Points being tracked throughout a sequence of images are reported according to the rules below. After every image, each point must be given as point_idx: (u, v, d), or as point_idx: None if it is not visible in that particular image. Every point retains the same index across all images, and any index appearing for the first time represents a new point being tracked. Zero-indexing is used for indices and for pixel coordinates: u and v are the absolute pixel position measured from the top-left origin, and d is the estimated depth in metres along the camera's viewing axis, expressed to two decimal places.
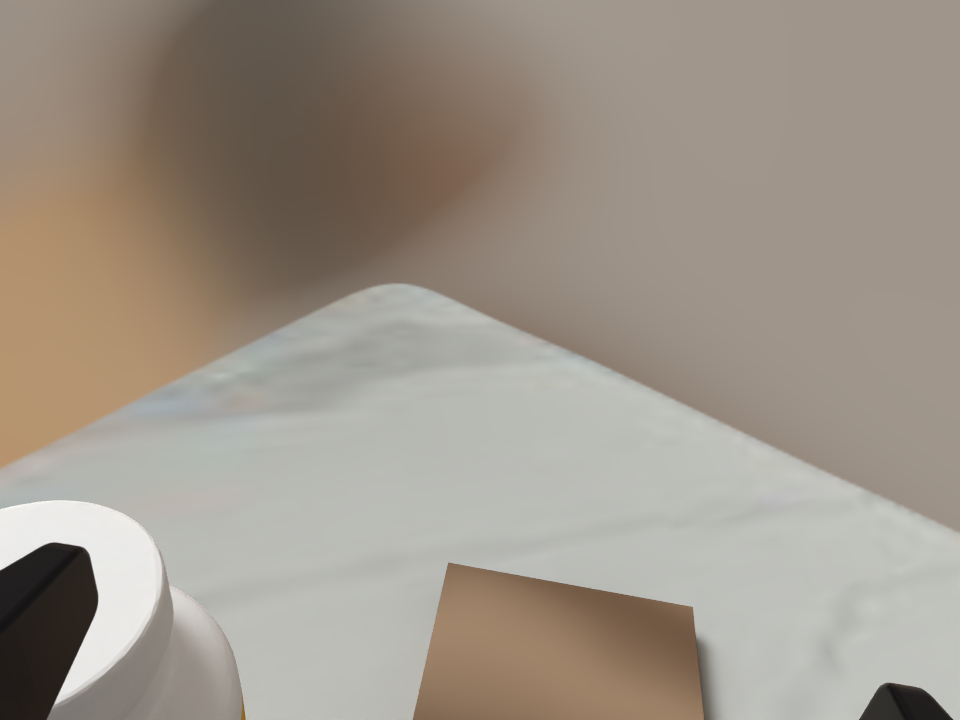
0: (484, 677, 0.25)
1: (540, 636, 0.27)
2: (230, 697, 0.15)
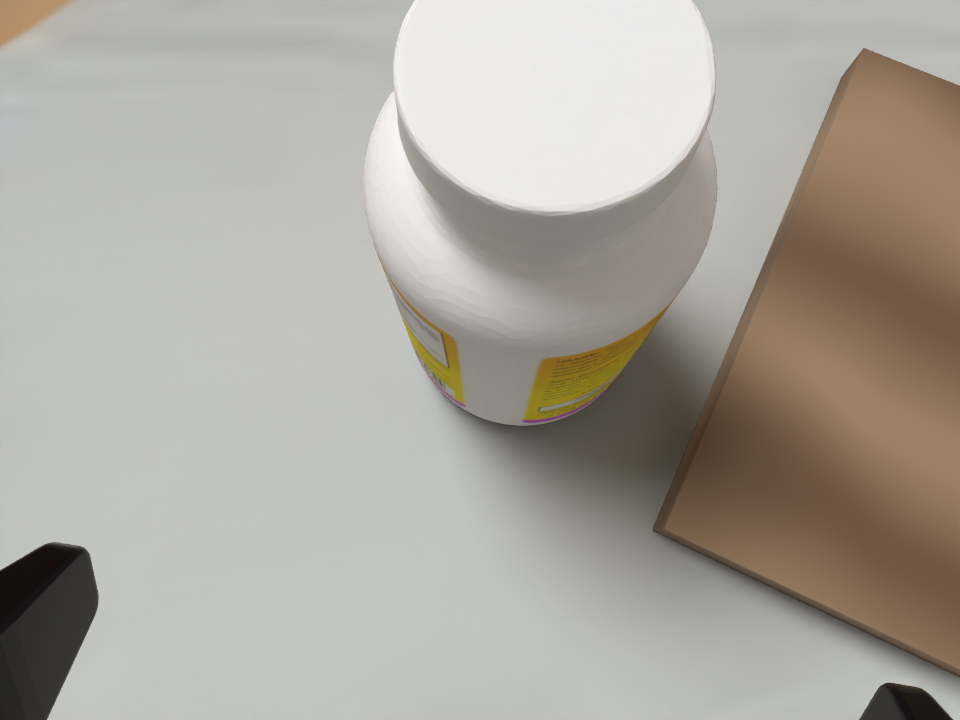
0: (878, 191, 0.23)
1: (953, 159, 0.23)
2: (715, 197, 0.14)
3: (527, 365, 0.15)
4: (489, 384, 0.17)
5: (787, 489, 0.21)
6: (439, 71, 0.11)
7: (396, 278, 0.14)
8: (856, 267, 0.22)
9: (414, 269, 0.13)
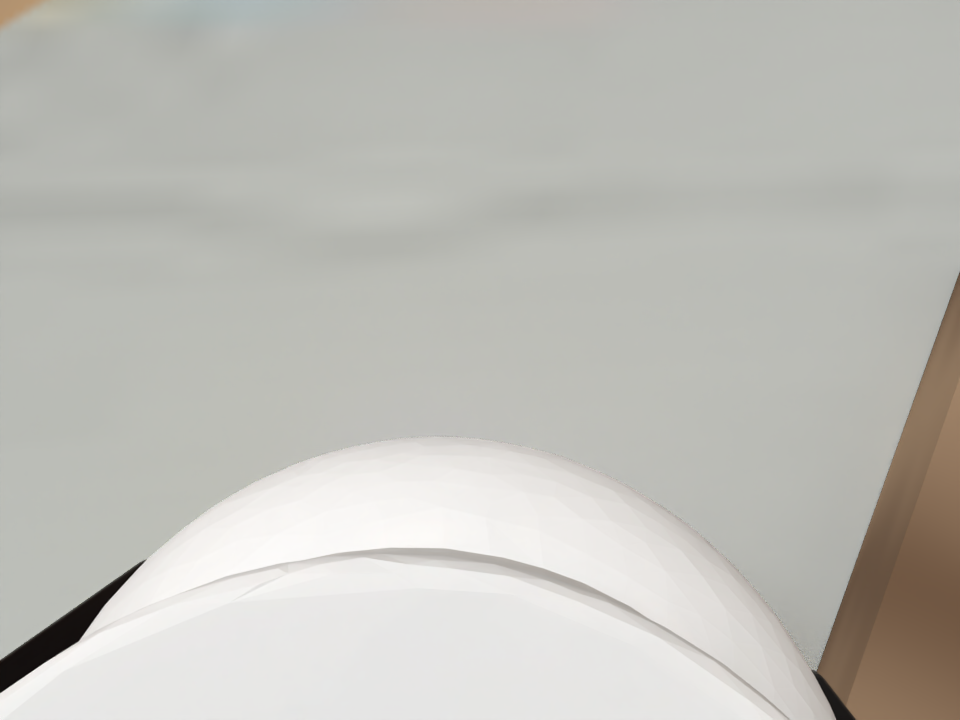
0: None
1: None
2: None
3: None
4: None
5: None
6: None
7: None
8: None
9: None
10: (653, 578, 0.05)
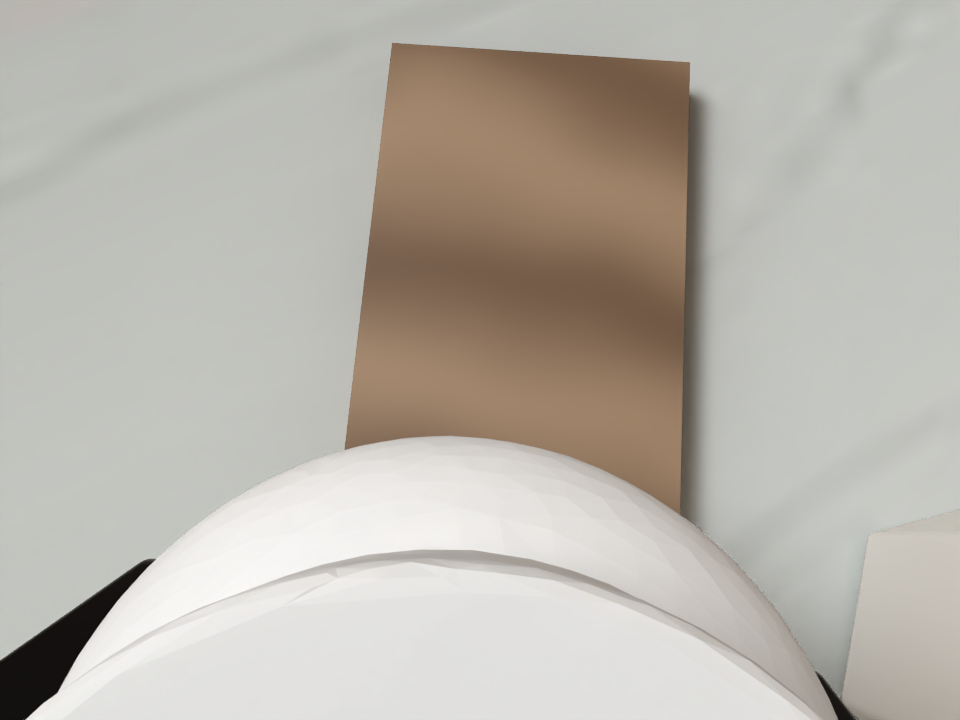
0: (443, 179, 0.23)
1: (505, 123, 0.23)
2: None
3: None
4: None
5: None
6: None
7: None
8: (442, 261, 0.22)
9: None
10: (664, 576, 0.06)
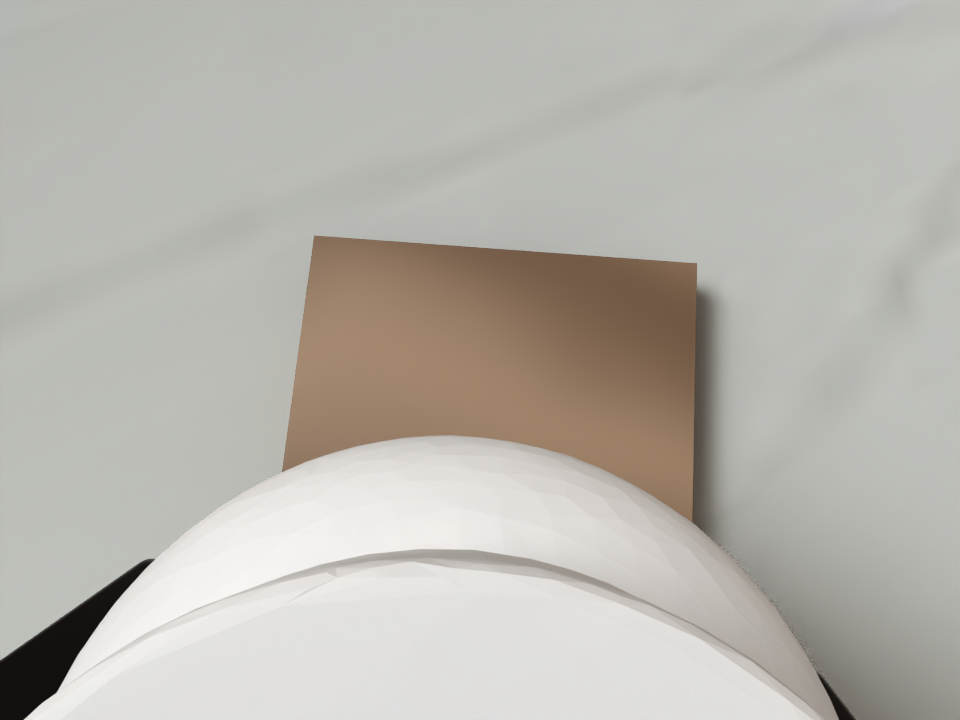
0: (376, 425, 0.17)
1: (458, 346, 0.18)
2: None
3: None
4: None
5: None
6: None
7: None
8: None
9: None
10: (663, 575, 0.06)
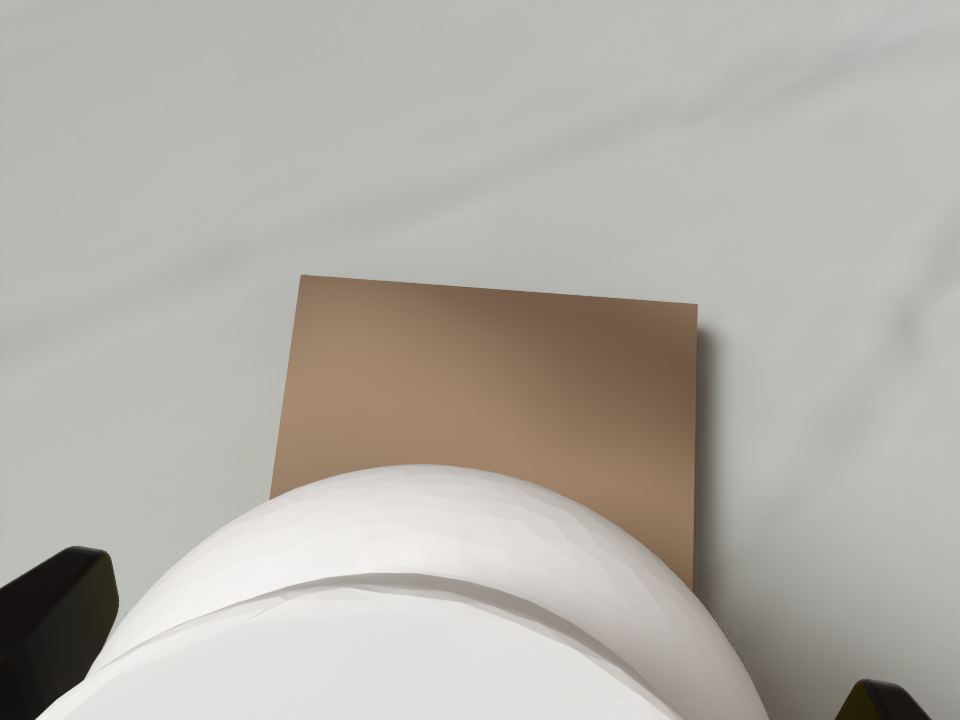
0: None
1: (449, 391, 0.17)
2: None
3: None
4: None
5: None
6: None
7: None
8: None
9: None
10: (604, 591, 0.06)
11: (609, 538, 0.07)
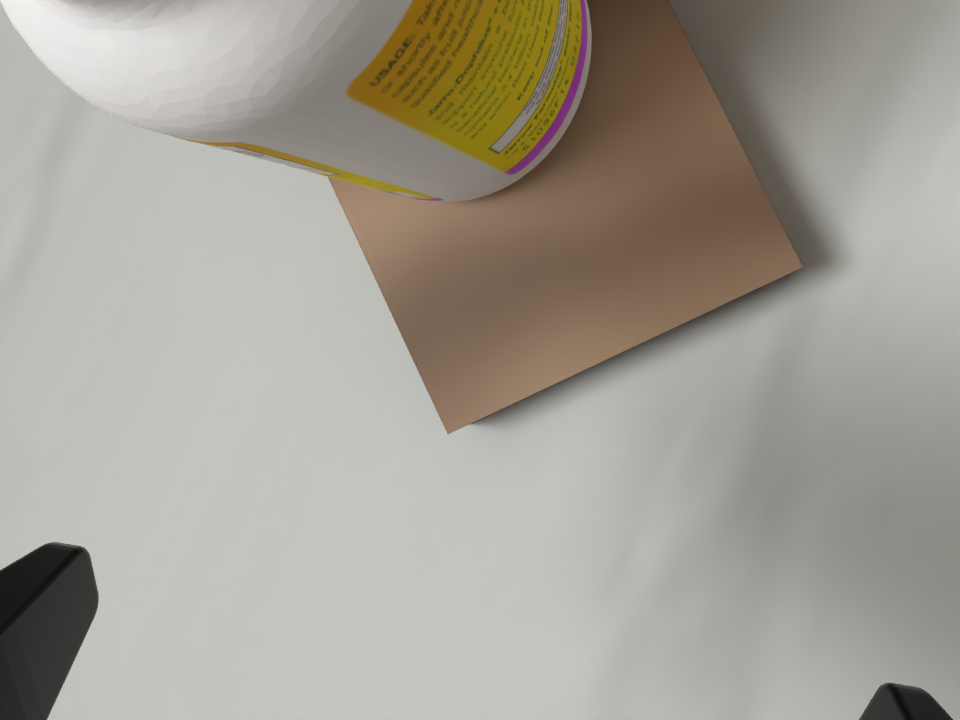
0: None
1: None
2: None
3: (352, 114, 0.11)
4: (384, 163, 0.13)
5: (494, 302, 0.19)
6: None
7: (120, 118, 0.10)
8: None
9: (107, 93, 0.10)
10: None
11: None
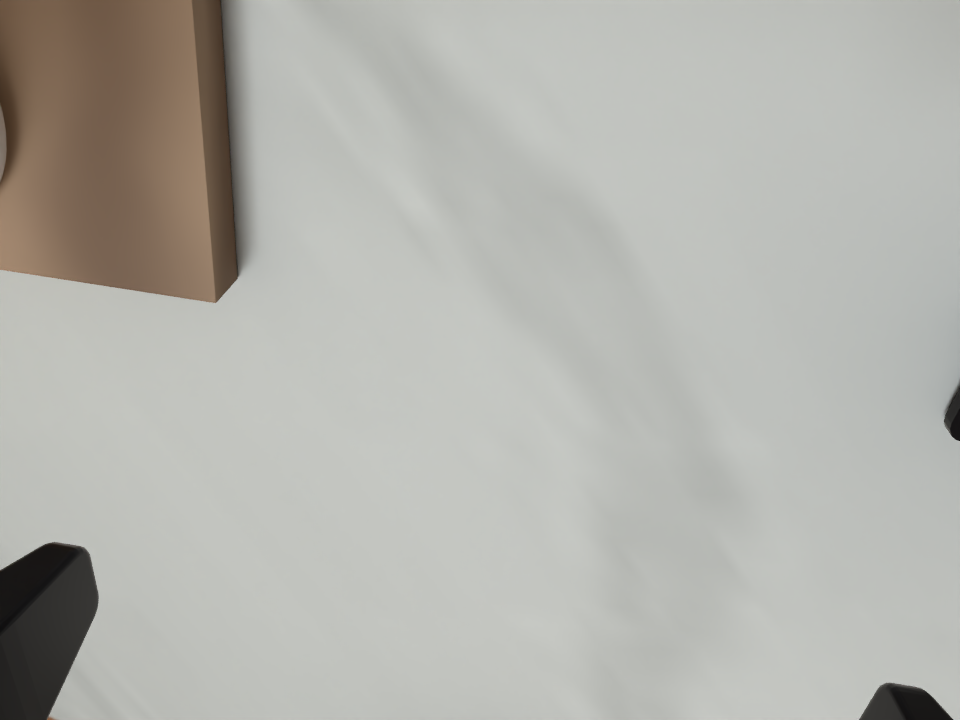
0: None
1: None
2: None
3: None
4: None
5: (114, 196, 0.19)
6: None
7: None
8: None
9: None
10: None
11: None
